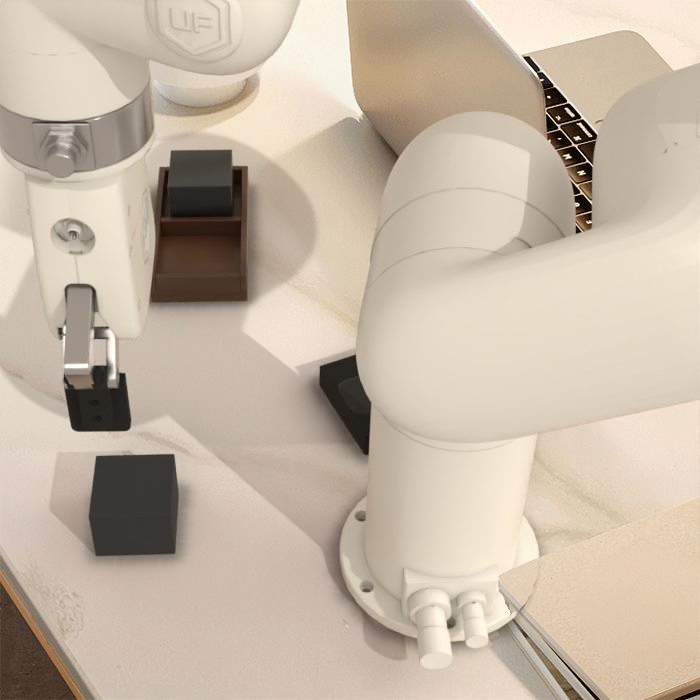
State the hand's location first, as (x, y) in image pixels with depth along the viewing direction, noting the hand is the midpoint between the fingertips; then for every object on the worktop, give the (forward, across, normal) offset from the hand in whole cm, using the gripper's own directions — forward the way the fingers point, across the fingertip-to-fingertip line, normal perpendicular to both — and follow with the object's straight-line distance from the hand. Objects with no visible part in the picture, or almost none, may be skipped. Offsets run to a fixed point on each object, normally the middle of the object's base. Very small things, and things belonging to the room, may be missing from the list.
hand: (110, 365), depth 73 cm
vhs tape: (+14, +12, -20) cm, 28 cm away
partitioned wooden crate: (+14, +29, -3) cm, 32 cm away
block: (+14, 0, 0) cm, 14 cm away
